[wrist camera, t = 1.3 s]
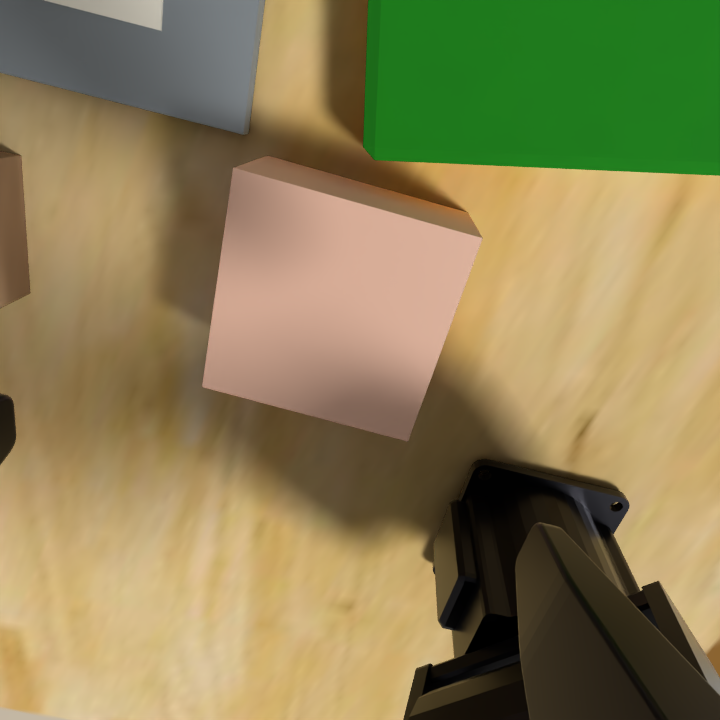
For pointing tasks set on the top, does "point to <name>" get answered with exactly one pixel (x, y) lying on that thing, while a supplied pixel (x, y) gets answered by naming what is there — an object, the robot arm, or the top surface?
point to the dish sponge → (545, 83)
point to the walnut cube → (12, 231)
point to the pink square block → (334, 295)
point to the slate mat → (141, 53)
